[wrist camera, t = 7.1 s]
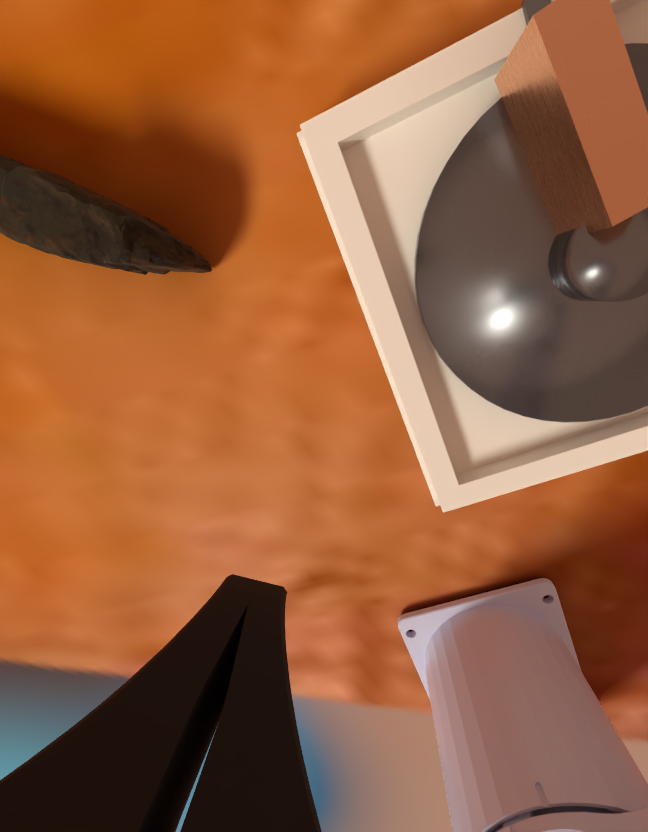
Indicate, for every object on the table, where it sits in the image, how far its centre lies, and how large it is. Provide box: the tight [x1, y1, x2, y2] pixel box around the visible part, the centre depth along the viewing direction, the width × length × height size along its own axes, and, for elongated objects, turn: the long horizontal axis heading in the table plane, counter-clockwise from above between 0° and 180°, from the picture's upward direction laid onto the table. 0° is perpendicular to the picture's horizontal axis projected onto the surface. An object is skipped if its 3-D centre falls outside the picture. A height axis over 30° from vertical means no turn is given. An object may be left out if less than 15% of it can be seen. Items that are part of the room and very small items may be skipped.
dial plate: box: [296, 0, 648, 513], centre depth 15 cm, size 16×16×2 cm
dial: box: [414, 0, 648, 422], centre depth 13 cm, size 12×12×4 cm
